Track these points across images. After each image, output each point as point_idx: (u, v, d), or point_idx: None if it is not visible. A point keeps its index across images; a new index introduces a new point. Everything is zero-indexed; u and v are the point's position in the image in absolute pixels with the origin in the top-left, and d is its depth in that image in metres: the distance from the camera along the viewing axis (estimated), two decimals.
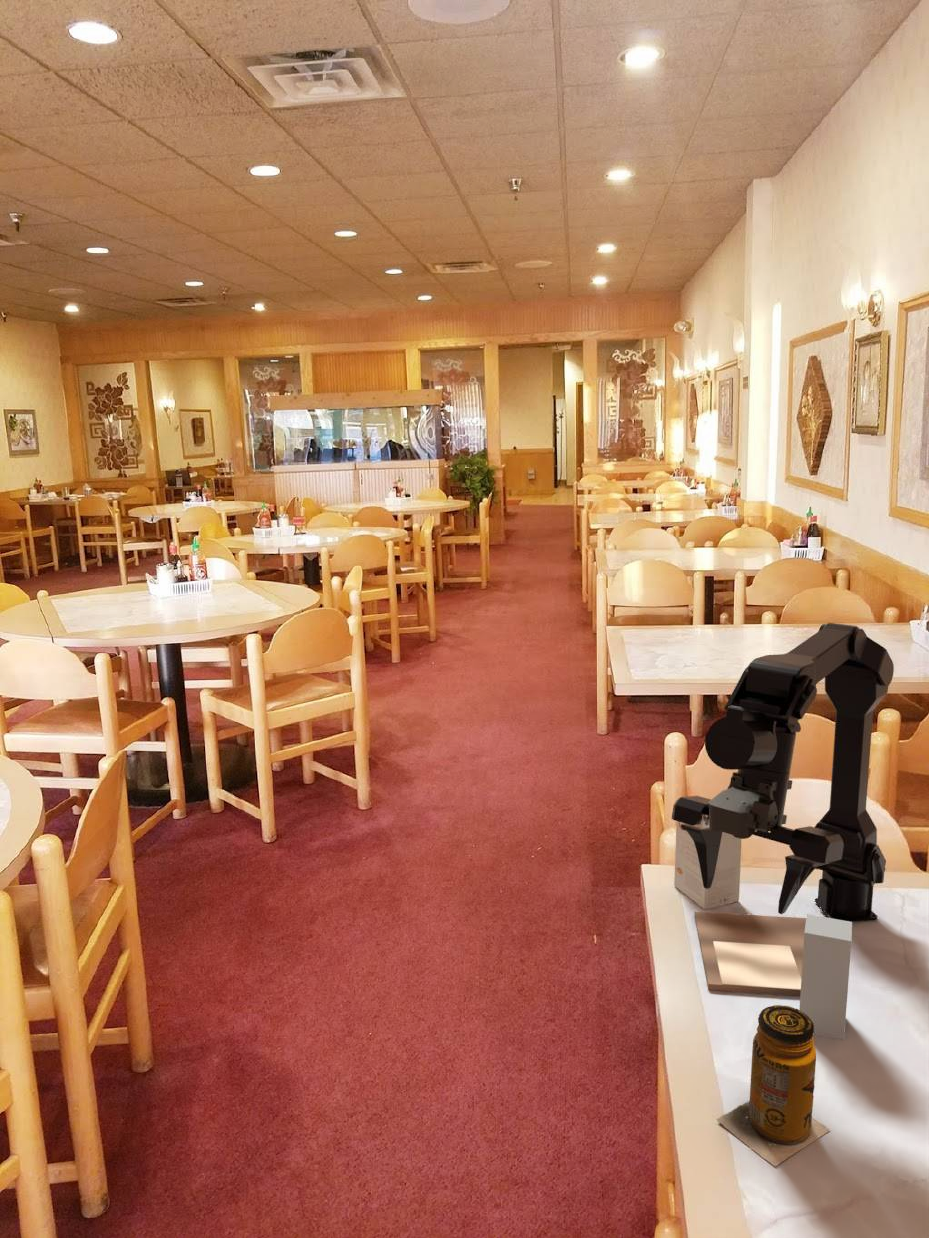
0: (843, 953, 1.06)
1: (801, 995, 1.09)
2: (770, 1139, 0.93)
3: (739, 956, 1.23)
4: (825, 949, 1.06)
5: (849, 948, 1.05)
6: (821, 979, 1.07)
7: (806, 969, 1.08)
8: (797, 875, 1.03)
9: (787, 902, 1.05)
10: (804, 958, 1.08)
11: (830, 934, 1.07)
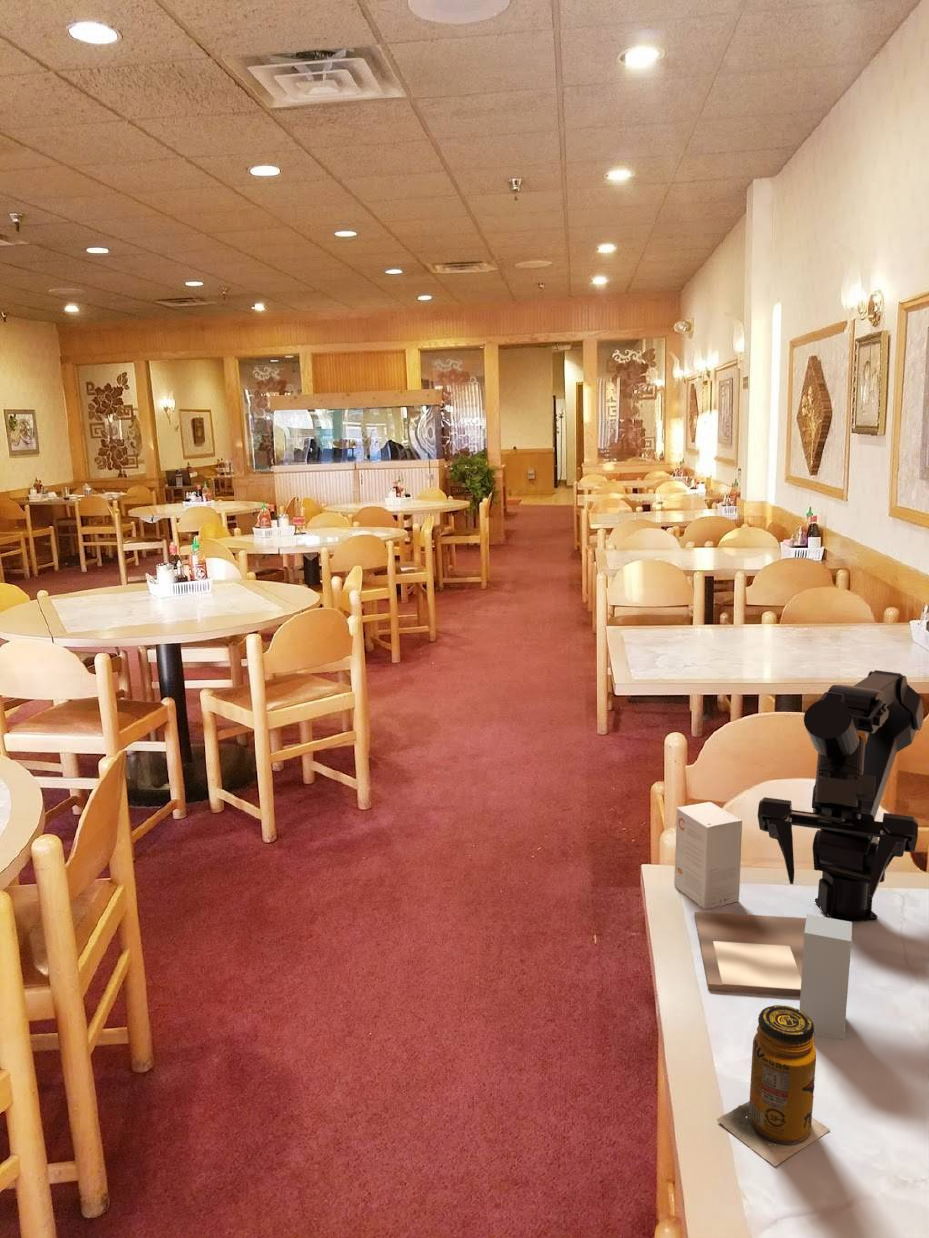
0: (843, 953, 1.06)
1: (801, 995, 1.09)
2: (770, 1139, 0.93)
3: (739, 956, 1.23)
4: (825, 949, 1.06)
5: (849, 948, 1.05)
6: (821, 979, 1.07)
7: (806, 969, 1.08)
8: (888, 854, 1.14)
9: (877, 884, 1.14)
10: (804, 958, 1.08)
11: (830, 934, 1.07)
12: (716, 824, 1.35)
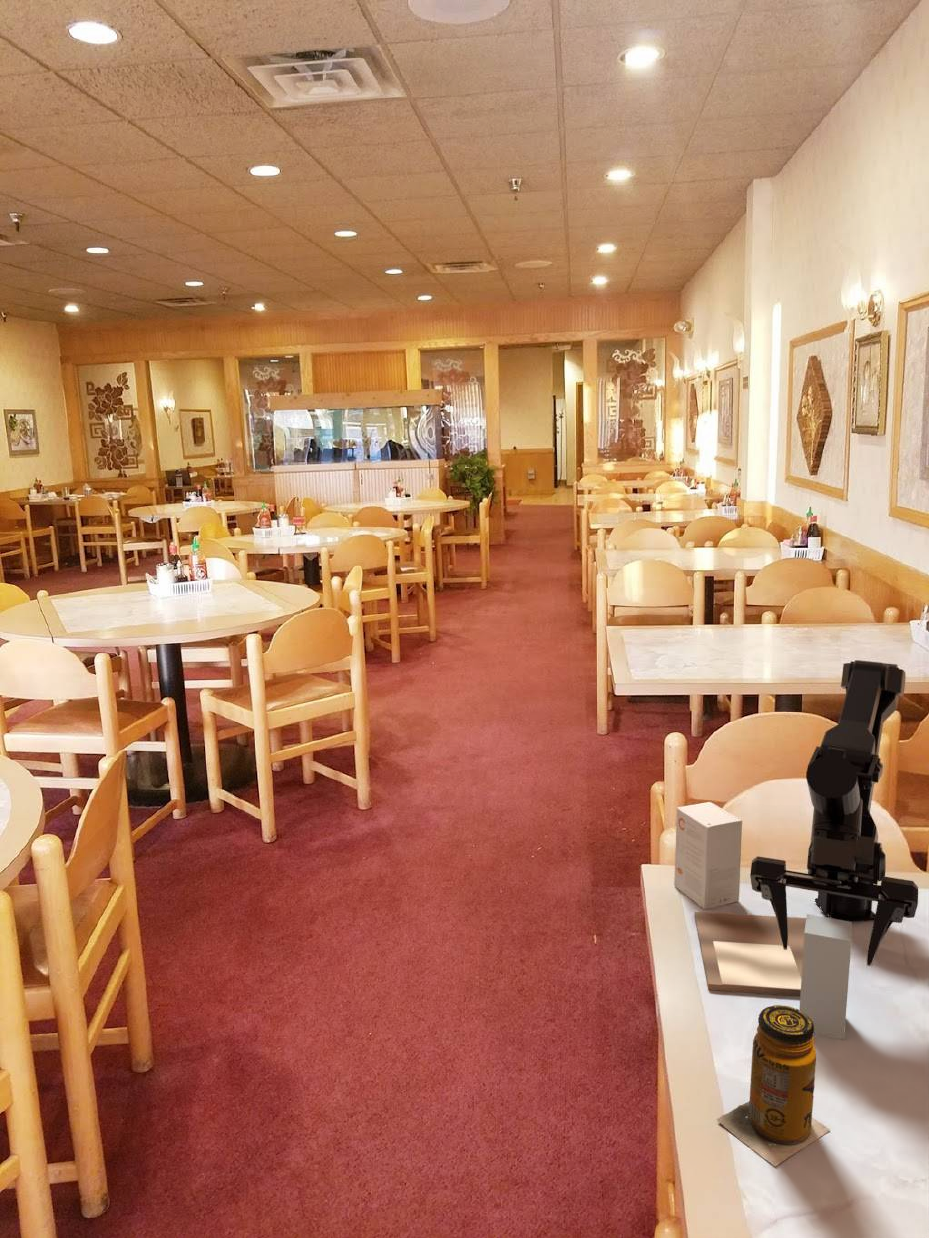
0: (843, 953, 1.06)
1: (801, 995, 1.09)
2: (770, 1139, 0.93)
3: (739, 956, 1.23)
4: (825, 949, 1.06)
5: (849, 948, 1.05)
6: (821, 979, 1.07)
7: (806, 969, 1.08)
8: (887, 921, 1.08)
9: (875, 952, 1.08)
10: (804, 958, 1.08)
11: (830, 934, 1.07)
12: (716, 823, 1.35)
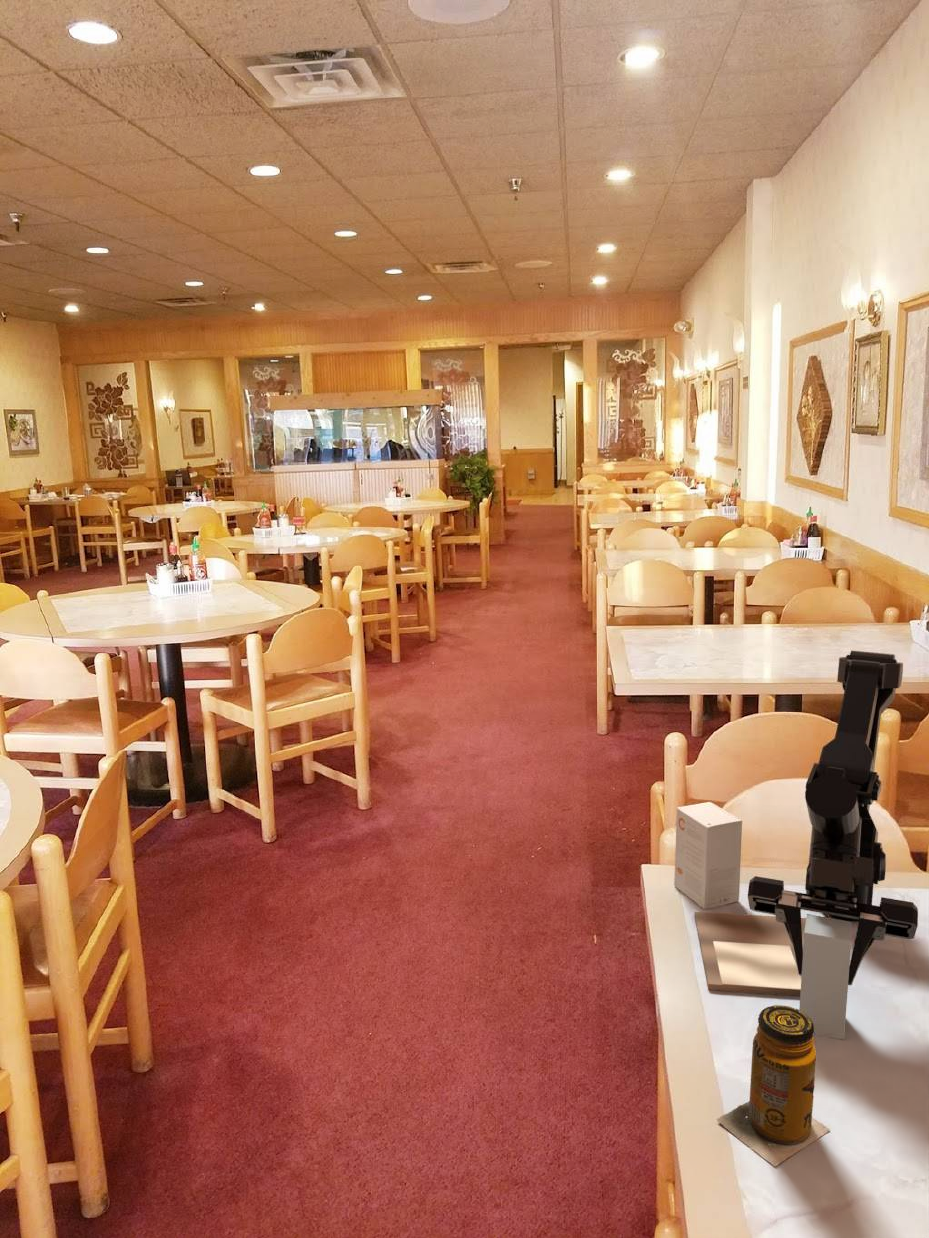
0: (843, 953, 1.06)
1: (801, 995, 1.09)
2: (770, 1139, 0.93)
3: (739, 956, 1.23)
4: (825, 949, 1.06)
5: (849, 948, 1.05)
6: (821, 979, 1.07)
7: (806, 969, 1.08)
8: (868, 940, 1.08)
9: (856, 972, 1.07)
10: (804, 958, 1.08)
11: (830, 934, 1.07)
12: (716, 823, 1.35)
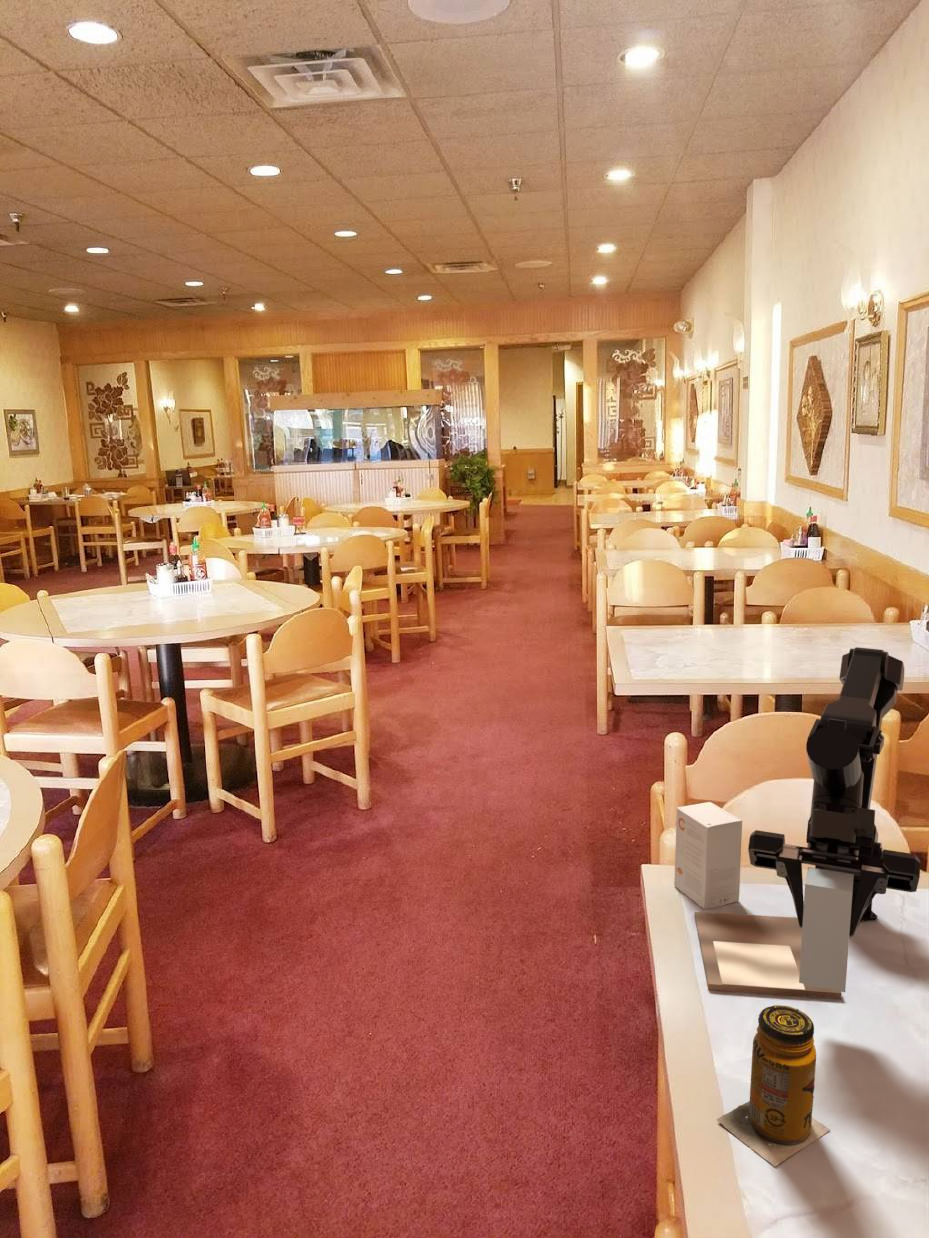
0: (844, 904, 1.05)
1: (802, 948, 1.08)
2: (770, 1139, 0.93)
3: (739, 956, 1.23)
4: (826, 900, 1.06)
5: (850, 899, 1.04)
6: (822, 931, 1.06)
7: (807, 921, 1.07)
8: (869, 892, 1.07)
9: (857, 924, 1.06)
10: (805, 910, 1.07)
11: (831, 885, 1.06)
12: (716, 824, 1.35)
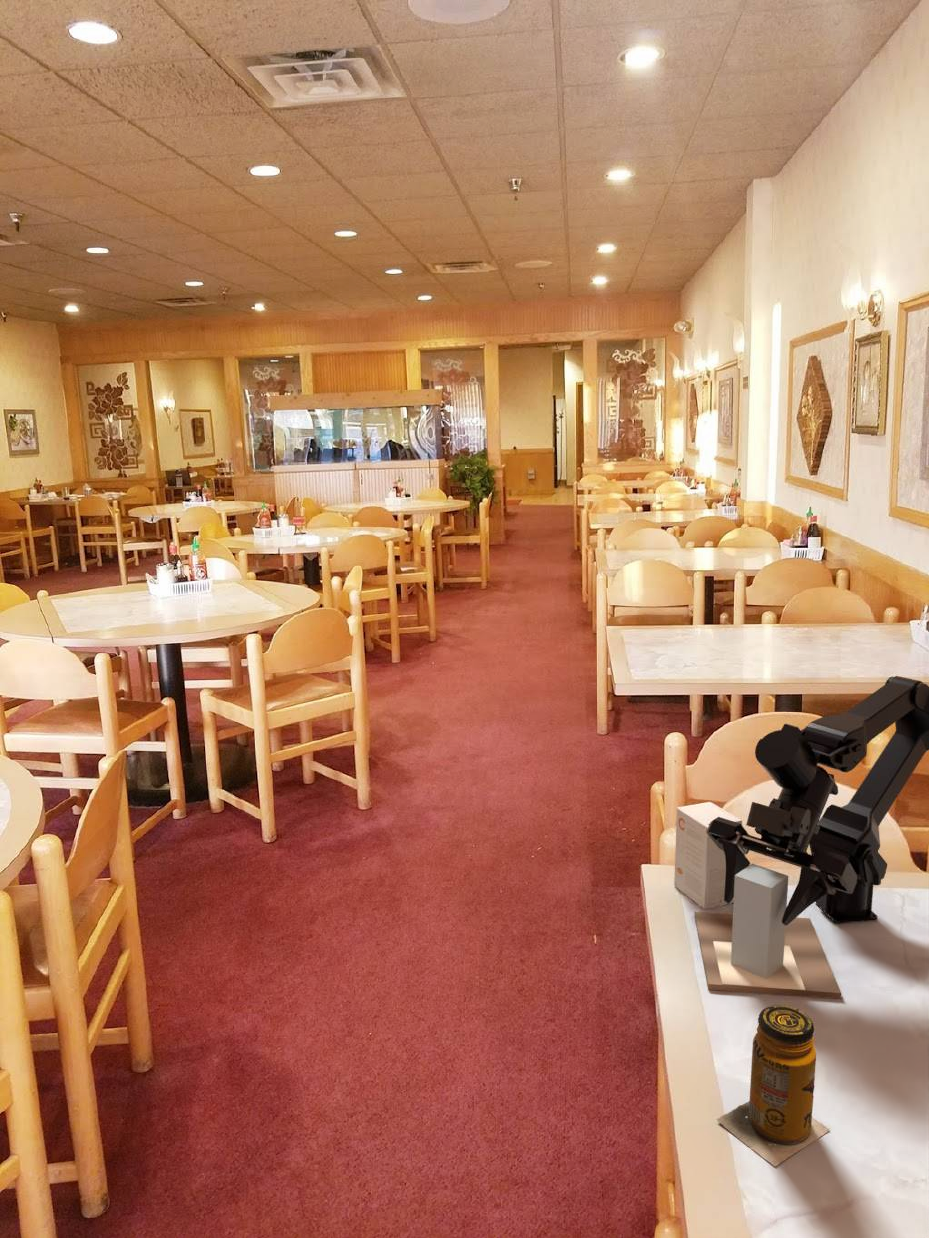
0: (765, 898, 1.16)
1: (733, 932, 1.20)
2: (770, 1139, 0.93)
3: None
4: (751, 893, 1.18)
5: (770, 894, 1.16)
6: (748, 920, 1.19)
7: (736, 909, 1.20)
8: (807, 887, 1.16)
9: (792, 914, 1.16)
10: (735, 899, 1.19)
11: (757, 880, 1.18)
12: None
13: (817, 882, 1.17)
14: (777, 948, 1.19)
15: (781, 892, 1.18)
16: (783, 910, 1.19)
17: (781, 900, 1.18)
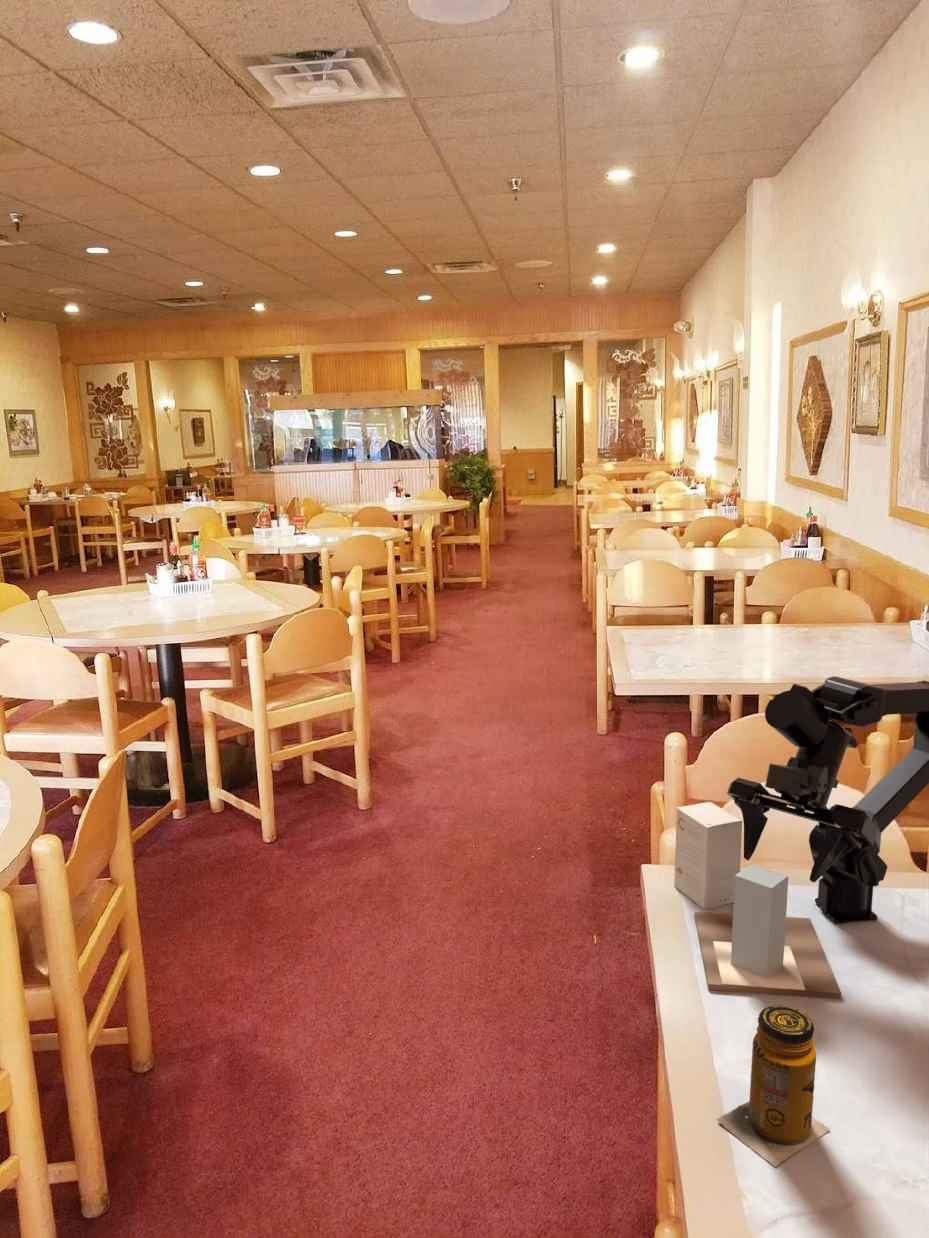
0: (765, 898, 1.16)
1: (733, 932, 1.20)
2: (770, 1139, 0.93)
3: None
4: (751, 893, 1.18)
5: (770, 894, 1.16)
6: (748, 920, 1.19)
7: (736, 909, 1.20)
8: (833, 844, 1.18)
9: (819, 871, 1.19)
10: (735, 899, 1.19)
11: (757, 880, 1.18)
12: (716, 824, 1.35)
13: (842, 838, 1.19)
14: (777, 948, 1.19)
15: (781, 892, 1.18)
16: (783, 910, 1.19)
17: (781, 900, 1.18)
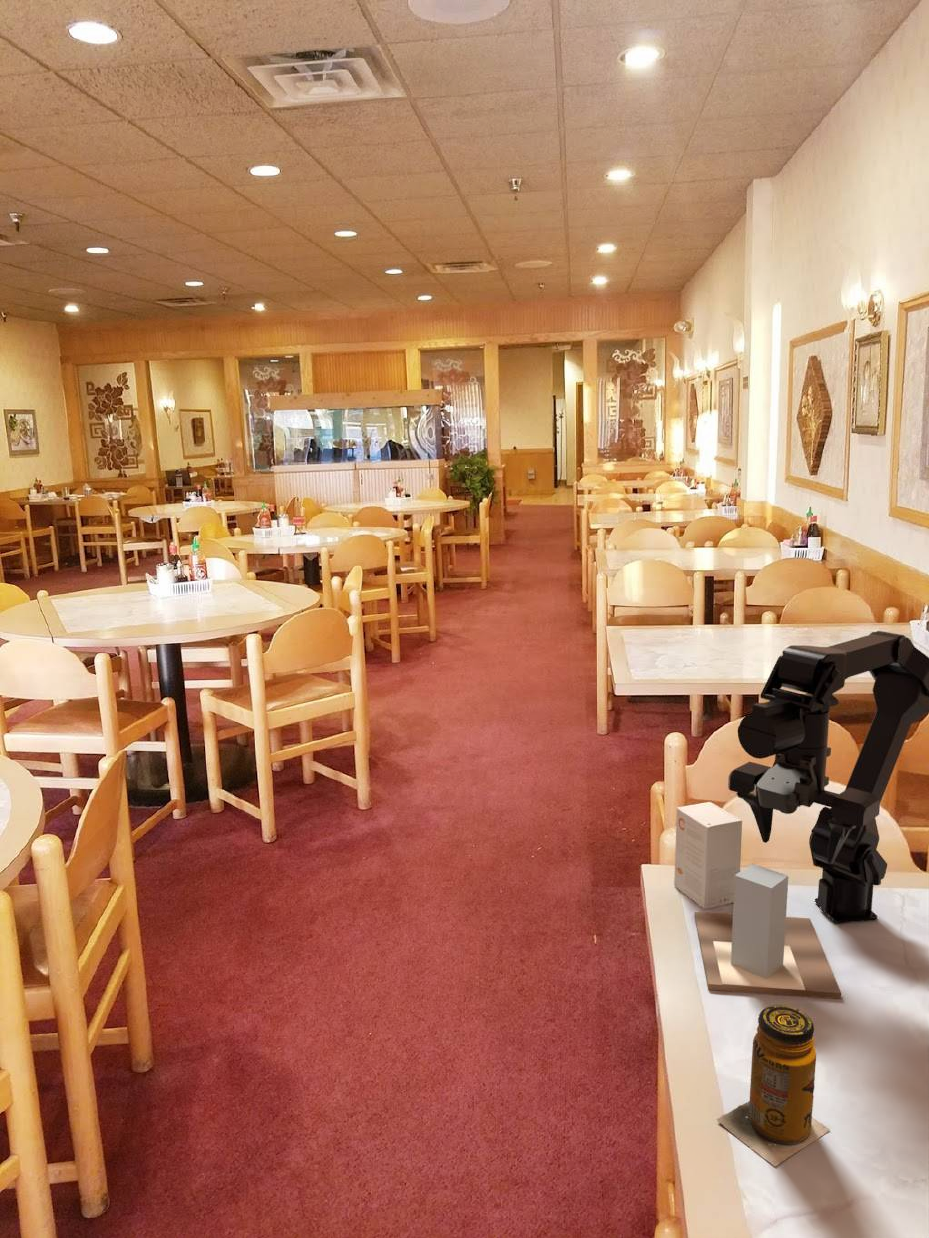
0: (765, 898, 1.16)
1: (733, 932, 1.20)
2: (770, 1139, 0.93)
3: None
4: (751, 893, 1.18)
5: (770, 894, 1.16)
6: (748, 920, 1.19)
7: (736, 909, 1.20)
8: (840, 834, 1.20)
9: (835, 854, 1.22)
10: (735, 899, 1.19)
11: (757, 880, 1.18)
12: (716, 823, 1.35)
13: None
14: (777, 948, 1.19)
15: (781, 892, 1.18)
16: (783, 910, 1.19)
17: (781, 900, 1.18)
